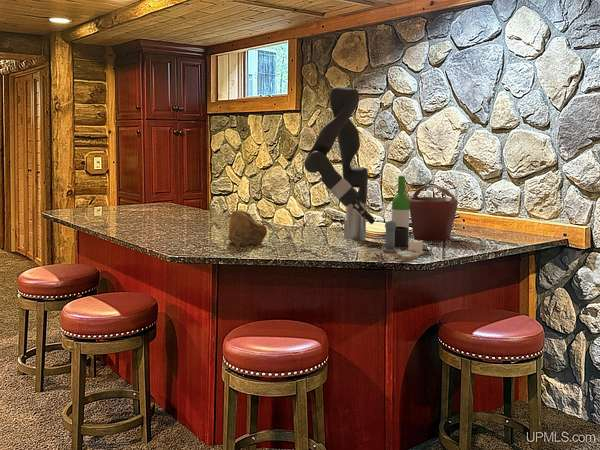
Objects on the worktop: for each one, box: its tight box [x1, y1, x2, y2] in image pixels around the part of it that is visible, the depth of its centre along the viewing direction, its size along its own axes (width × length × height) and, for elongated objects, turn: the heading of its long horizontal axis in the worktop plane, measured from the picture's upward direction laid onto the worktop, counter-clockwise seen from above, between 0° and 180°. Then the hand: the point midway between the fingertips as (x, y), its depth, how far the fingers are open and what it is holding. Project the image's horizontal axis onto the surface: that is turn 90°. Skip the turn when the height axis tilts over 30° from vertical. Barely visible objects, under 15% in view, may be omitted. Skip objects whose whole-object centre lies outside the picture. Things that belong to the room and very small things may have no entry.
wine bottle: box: [391, 175, 410, 242], centre depth 289 cm, size 8×8×30 cm
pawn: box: [382, 219, 397, 254], centre depth 260 cm, size 5×5×13 cm
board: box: [349, 246, 420, 262], centre depth 262 cm, size 27×11×2 cm, turn 57°
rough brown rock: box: [227, 209, 268, 247], centre depth 285 cm, size 23×17×15 cm
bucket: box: [408, 184, 458, 242], centre depth 306 cm, size 24×22×25 cm
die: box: [407, 239, 424, 256], centre depth 267 cm, size 5×5×5 cm
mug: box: [394, 226, 409, 248], centre depth 278 cm, size 9×12×9 cm
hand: (372, 221), depth 259 cm, fingers open, 8 cm apart
